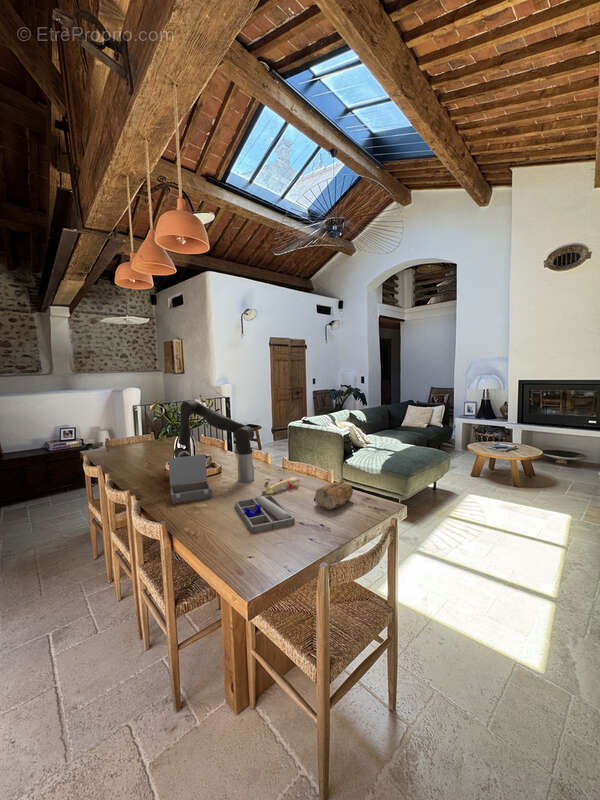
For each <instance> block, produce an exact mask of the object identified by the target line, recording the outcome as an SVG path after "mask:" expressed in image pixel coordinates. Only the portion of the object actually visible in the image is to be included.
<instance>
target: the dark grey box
mask: <svg viewBox="0 0 600 800" xmlns="http://www.w3.org/2000/svg"><path fill="white" fill-rule="evenodd" d="M169 487H170V489H169V490H170V500H171V505H175V504H174V503H177V504H181V503H180V502H184V503H187V502H186V501H190V502H193V501H192V500H196V501H199V500H198V499H202V500H206V499H205V498H208V499H212V498H213V495H212V493H213V492H212V486H211V484H210V483H209V481H208V480H207V481H200V482H193V483H187V484H180V485H173V486H169Z"/></svg>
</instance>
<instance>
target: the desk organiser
mask: <svg viewBox="0 0 600 800" xmlns="http://www.w3.org/2000/svg"><path fill="white" fill-rule="evenodd" d="M263 496H264V497H266V498H267V499H268V500H270V501H271V502H273V503H274V504H276V505H277V506H279V507H280V508H282V509H283V510H285V511H286V512H288V513H289V516H290V518H289V519H285V520H275V521H273V520H272V519H271V517H269V515H268V514H267V512H266V510H265V509H263V508H262V507H261V513H260V515H256V517H251V518H248V517H247V516H246V514H245V513H244V509H246V508H247V509H249V511H250V512H252V511H253V510H254V509H255V505H257V504H258V503H257V499H258V497H255V498H253V497H252V498H248V499H243V500H236V501H234V502H235V508H236V509H237V511H238V512H239V514H240V515H241V517H242V519H243V521H244V522H245V524H246V525H247V526H248V529H249V530H250V532H251V533H257V532H262V531H266V530H272V529H277V528H283V527H285V526H290V525H295V522H296V521H295V517H294V516H293V515H292V514H291V513H290V512H289V511H288V510H287V509H286V508H285V507H284V506H283V505H282V504H281V503H280V502H279V501H278V500H277V499H276V498H275V496H273V494H270V496H266V495H263ZM241 506H242V507H241ZM265 521H266V523H261V522H265ZM256 523H260V524H257V525H256ZM254 524H255V525H254Z"/></svg>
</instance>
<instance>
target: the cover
mask: <svg viewBox="0 0 600 800" xmlns="http://www.w3.org/2000/svg"><path fill="white" fill-rule="evenodd" d="M167 460H168V473H169V485H170V486H176V485H183V484H190V483H197V482H204V481H208V472H207V470H208V469H207V459H206V454H195V455H190V456H185V457H177V458H176V457H171V458H168V459H167ZM170 486H169V487H170Z"/></svg>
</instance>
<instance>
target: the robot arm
mask: <svg viewBox="0 0 600 800" xmlns="http://www.w3.org/2000/svg"><path fill="white" fill-rule="evenodd" d="M192 415H197V416H199V417H201V418H202V419H204V421H205V422H206V423H207V424H208V425H209V426H211V427H214V429H217V430H220V431H225V432H230V433H233V434H234V442H235V450H236V451H237V452H236V454H237V480H238V482H239V483H251V482H252V480H253V481H255V466H254V463H253V461H254V460H253V455H254V454H253V447H251V446H250V441H251V440H253V439H254V437H255V431H254V430H253V429H254V428H252V427H251V426H248V425H246V424H243V423H241V422H238V421H236V420H234V419H231V418H230V417H227V416H225V415H224V414H222V413H220V412H218V411H216V410H213V409H211V408H210V407H207V406H205V405H204V404H202V403H200V402H199V401H197V400H194V399H190V400H184V401H183V402H181V404H180V407H179V417H180V418H179V423H180V428H179V436H178V444H179V445H181V446H182V447H186V448H185V449H183V448H178V447H179V446H177V448H176V447H175V448H174V450H173V455H174V458H177V457H185V456H191V451H192V450H191V447H190V445H191V444H190V443H191V442H190V441H191V435H192V432H191V431H192V430H191V427H190V417H191V416H192Z"/></svg>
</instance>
